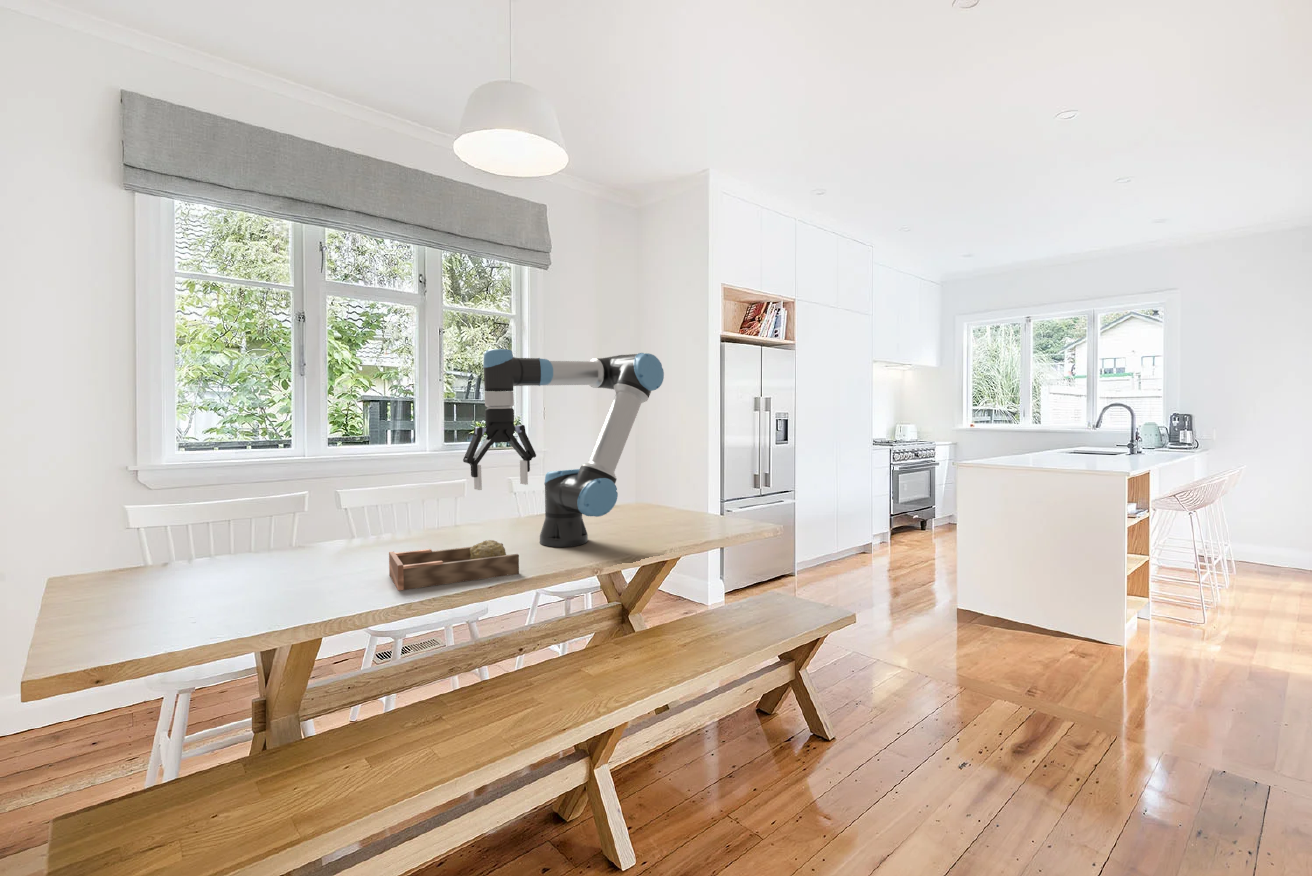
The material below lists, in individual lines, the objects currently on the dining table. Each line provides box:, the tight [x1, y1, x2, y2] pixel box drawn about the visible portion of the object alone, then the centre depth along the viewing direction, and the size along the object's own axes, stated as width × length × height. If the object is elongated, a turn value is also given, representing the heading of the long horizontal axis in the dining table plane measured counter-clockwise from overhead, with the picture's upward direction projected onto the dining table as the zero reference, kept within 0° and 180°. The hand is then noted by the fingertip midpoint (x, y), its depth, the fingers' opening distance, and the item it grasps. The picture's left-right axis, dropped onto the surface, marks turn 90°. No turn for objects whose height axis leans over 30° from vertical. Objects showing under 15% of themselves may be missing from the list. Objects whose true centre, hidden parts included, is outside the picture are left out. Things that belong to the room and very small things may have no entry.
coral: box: [470, 539, 507, 559], centre depth 164 cm, size 9×9×8 cm
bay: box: [388, 542, 520, 592], centre depth 160 cm, size 29×15×6 cm, turn 121°
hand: (501, 486), depth 167 cm, fingers open, 13 cm apart
